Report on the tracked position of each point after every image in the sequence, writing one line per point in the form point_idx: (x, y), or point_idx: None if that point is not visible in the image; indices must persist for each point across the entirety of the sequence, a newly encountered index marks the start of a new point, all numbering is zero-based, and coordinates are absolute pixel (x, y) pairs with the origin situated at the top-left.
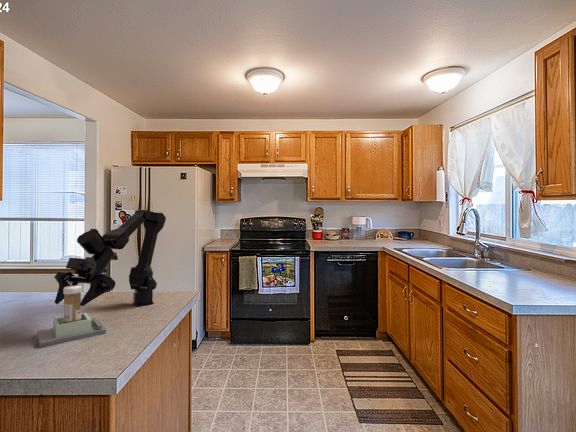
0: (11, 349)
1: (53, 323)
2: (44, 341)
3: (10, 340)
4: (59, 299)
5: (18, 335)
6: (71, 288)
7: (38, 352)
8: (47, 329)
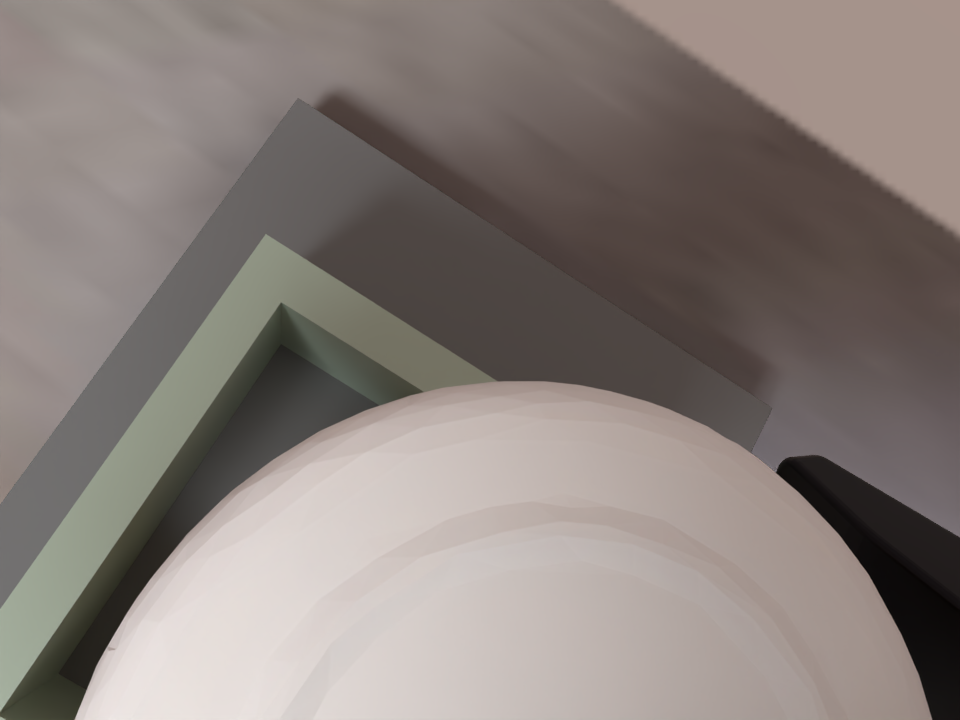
0: (564, 28)
1: None
2: (304, 159)
3: (838, 206)
4: None
5: (918, 338)
6: (228, 517)
7: (180, 25)
8: None
